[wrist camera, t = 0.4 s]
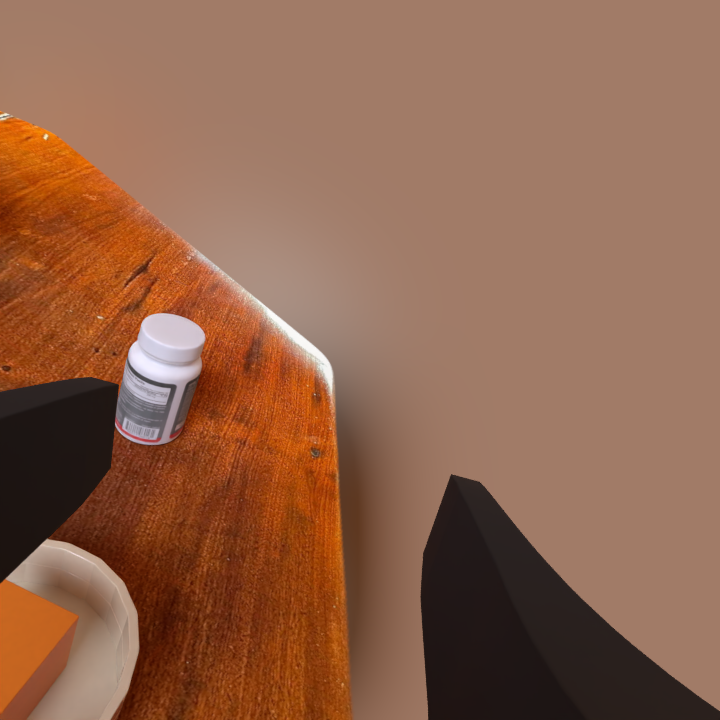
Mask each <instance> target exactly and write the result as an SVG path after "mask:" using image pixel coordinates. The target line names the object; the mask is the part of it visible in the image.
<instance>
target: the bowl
mask: <svg viewBox="0 0 720 720" xmlns="http://www.w3.org/2000/svg"><path fill="white" fill-rule="evenodd" d="M6 580H8V581H10V582H12V583H14V584H16V585H18V586H20V587H22V588H24V589H26V590H28V591H30V592H32V593H34V594H36V595H38V596H40V597H42V598H44V599H46V600H48V601H50V602H52V603H54V604H56V605H58V606H60V607H62V608H64V609H66V610H68V611H70V612H72V613H74V614H76V615H78V616H79V619H78V622H77V626H76V630H75V634H74V638H73V642H72V646H71V650H70V653H69V657H68V661H67V665H66V667H65V669H64V670H63V671H62V673H61V674H60V675H59V677H58V678H57V679H56V681H55V682H54V683H53V685H52V686H51V687H50V689H49V690H48V691H47V693H46V694H45V695H44V697H43V698H42V699H41V701H40V702H39V703H38V704H37V706H36V707H35V708H34V710H33V711H32V712H31V714H30V715H29V716H28V718H27V719H26V720H117V718H118V716H119V713H120V711H121V708H122V705H123V703H124V700H125V698H126V695H127V692H128V690H129V686H130V682H131V679H132V675H133V672H134V668H135V664H136V661H137V657H138V653H139V630H138V614H137V610H136V608H135V606H134V604H133V601H132V599H131V597H130V594H129V592H128V590H127V588H126V585H125V583H124V582H123V580H122V579H121V578H120V577H119V576H118V575H117V574H116V573H115V572H114V571H113V570H112V569H111V568H110V567H109V566H108V565H107V564H106V563H105V562H104V561H103V560H102V559H100V558H99V557H97V556H95V555H93V554H91V553H89V552H87V551H85V550H83V549H81V548H79V547H77V546H75V545H73V544H71V543H70V544H69V543H67V542H61V541H56V540H50V539H46V540H45V541H44V542H43V543H42V544H41V545H40V546H39V547H38V548H37V549H36V550H35V551H34V552H33V553H32V554H31V555H30V556H29V557H28V558H27V559H26V560H24V561H23V562H22V563H21V564H20V565H19V566H18V567H17V568H16V569H15V570H14V571H13V572H12V573H11V574H10V575H9V576H8V577H7V578H6Z"/></svg>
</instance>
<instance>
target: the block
mask: <svg viewBox="0 0 720 720" xmlns="http://www.w3.org/2000/svg"><path fill="white" fill-rule="evenodd" d="M78 619H79V616H78V615H76V614H74V613H72V612H70V611H68V610H66V609H64V608H62V607H60V606H58V605H56V604H54V603H52V602H50V601H48V600H46V599H44V598H42V597H40V596H38V595H36V594H34V593H32V592H30V591H28V590H26V589H24V588H22V587H20V586H18V585H16V584H14V583H12V582H10V581H8V580H6V579H5V580H4V581H3V582H2V583H1V584H0V720H26V719H27V718H28V716H29V715H30V714H31V712H32V711H33V710H34V708H35V707H36V706H37V704H38V703H39V702H40V701H41V699H42V698H43V697H44V695H45V694H46V693H47V691H48V690H49V689H50V687H51V686H52V685H53V683H54V682H55V681H56V679H57V678H58V677H59V675H60V674H61V673H62V671H63V670H64V669H65V667H66V665H67V661H68V657H69V653H70V650H71V646H72V642H73V638H74V634H75V630H76V626H77V622H78Z"/></svg>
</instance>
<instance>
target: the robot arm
mask: <svg viewBox="0 0 720 720" xmlns="http://www.w3.org/2000/svg"><path fill="white" fill-rule="evenodd" d="M118 389H119V385H118V384H115V383H111V382H107V381H104V380H100V379H96V378H93V377H86V378H75V379H68V380H62V381H56V382H50V383H44V384H39V385H34V386H29V387H23V388H18V389H13V390H8V391H2V392H0V584H1V583H2V582H3V581H4V580H5V579H6V578H7V577H8V576H9V575H10V574H11V573H12V572H13V571H14V570H15V569H16V568H17V567H18V566H19V565H20V564H21V563H22V562H23V561H24V560H26V559H27V558H28V557H29V556H30V555H31V554H32V553H33V552H34V551H35V550H36V549H37V548H38V547H39V546H40V545H41V544H42V543H43V542H44V541H45V540H46V539H47V538H48V537H49V536H51V535H52V534H53V533H54V532H55V531H56V530H57V529H58V528H59V527H60V526H61V525H62V524H63V523H64V522H65V521H66V520H67V519H68V518H69V517H70V516H71V515H72V514H73V513H74V512H75V511H76V510H77V509H78V508H79V507H80V506H81V505H82V504H83V503H84V501H85V500H86V499H87V498H88V496H89V495H90V494H91V493H92V492H93V490H94V489H95V488H96V486H97V485H98V484H99V482H100V481H101V480H102V479H103V477H104V476H105V475H106V473H107V472H108V471H109V469H110V468H111V459H112V449H113V439H114V429H115V419H116V409H117V399H118ZM421 612H422V628H423V642H424V657H425V671H426V686H427V700H428V720H720V711H719V710H717V709H716V708H714V707H713V706H711V705H710V704H709V703H707V702H706V701H704V700H703V699H701V698H700V697H699V696H697V695H696V694H695V693H693V692H692V691H691V690H689V689H688V688H687V687H685V686H684V685H683V684H681V683H680V682H679V681H677V680H676V679H675V678H673V677H672V676H671V675H669V674H668V673H667V672H666V671H664V670H663V669H662V668H661V667H659V666H658V665H657V664H656V663H655V662H653V661H652V660H651V659H649V658H648V657H647V656H646V655H645V654H643V653H642V652H641V651H639V650H638V649H637V648H636V647H635V646H633V645H632V644H631V643H630V642H629V641H628V640H626V639H625V638H624V637H623V636H622V635H621V634H619V633H618V632H617V631H616V630H615V629H614V628H612V627H611V626H610V625H609V624H608V623H607V622H606V621H605V620H604V619H603V618H602V617H600V615H599V614H597V613H596V612H595V611H594V610H593V609H592V608H591V607H590V606H589V605H588V604H587V603H586V602H584V601H583V600H582V599H581V598H580V597H579V596H578V595H577V594H576V593H575V592H574V591H573V590H572V589H571V588H570V587H569V586H568V585H567V583H565V581H564V580H563V579H562V578H561V577H560V576H559V575H558V574H557V573H556V572H555V571H554V569H552V567H551V566H550V565H549V564H548V563H547V562H546V561H545V560H544V559H543V557H542V556H541V555H540V554H539V553H538V552H537V551H536V549H535V548H534V547H533V546H532V545H531V544H530V542H529V541H528V540H527V539H526V538H525V536H524V535H523V534H522V533H521V532H520V530H519V529H518V528H517V527H516V525H515V524H514V523H513V522H512V520H511V519H510V518H509V517H508V515H507V514H506V513H505V512H504V510H503V509H502V508H501V507H500V505H499V504H498V503H497V502H496V500H495V499H494V498H493V497H492V495H491V494H490V493H489V492H488V491H487V489H486V488H485V487H484V486H483V485H482V484H481V483H480V482H477V481H474V480H470V479H467V478H463V477H459V476H456V475H452V474H451V476H450V479H449V482H448V485H447V487H446V490H445V493H444V496H443V499H442V502H441V505H440V507H439V510H438V513H437V516H436V519H435V521H434V524H433V527H432V530H431V533H430V536H429V538H428V541H427V545H426V547H425V550H424V553H423V566H422V580H421Z"/></svg>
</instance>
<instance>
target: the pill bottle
mask: <svg viewBox="0 0 720 720" xmlns="http://www.w3.org/2000/svg"><path fill="white" fill-rule="evenodd" d="M204 342H205V334H204V332H203V330H202V329H201V328H200V327H199V326H198V325H197V324H195V323H194V322H192V321H190V320H189V319H186V318H184V317H181V316H178V315H173V314H165V313H161V314H153V315H150V316H148V317H147V318H145V319H144V320H143V322H142V325H141V328H140V332H139V334H138V340H137V341H136V342H135V343H134V344H133V345H132V346H131V348H130V351H129V353H128V358H127V360H126V365H125V370H124V375H123V380H122V384H121V388H120V393H119V397H118V401H117V409H116V419H115V426H116V428H117V429H118V431H119V432H120V433H121V434H122V435H123V436H124V437H126V438H127V439H129V440H131V441H133V442H136V443H139V444H144V445H160V444H165V443H168V442H170V441H172V440H174V439H175V438H176V437H177V436H178V435H179V434H180V433H181V431H182V429H183V426H184V423H185V419H186V416H187V413H188V410H189V407H190V404H191V401H192V398H193V395H194V392H195V389H196V386H197V383H198V379H199V376H200V373H201V369H202V360H201V357H200V355H201V353H202V350H203V346H204Z"/></svg>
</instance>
